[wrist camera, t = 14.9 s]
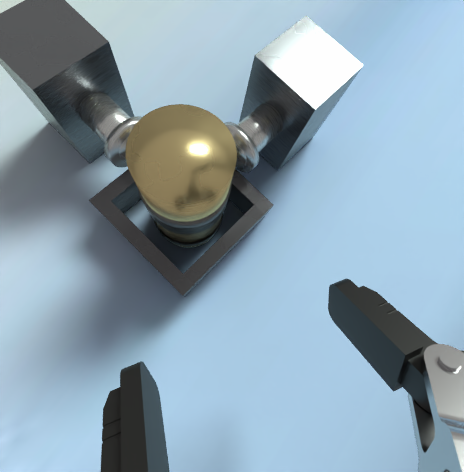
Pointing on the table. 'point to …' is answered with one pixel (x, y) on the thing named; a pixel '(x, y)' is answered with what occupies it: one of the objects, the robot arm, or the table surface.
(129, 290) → the table surface
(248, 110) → the shaft rig
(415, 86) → the table surface
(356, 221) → the table surface
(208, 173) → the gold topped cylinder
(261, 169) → the table surface
